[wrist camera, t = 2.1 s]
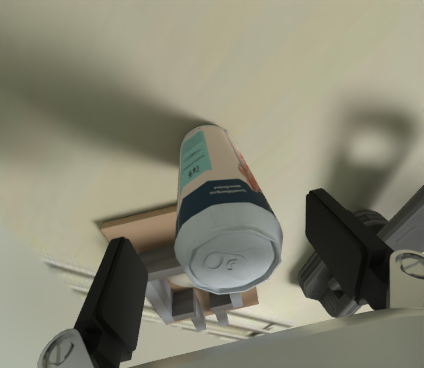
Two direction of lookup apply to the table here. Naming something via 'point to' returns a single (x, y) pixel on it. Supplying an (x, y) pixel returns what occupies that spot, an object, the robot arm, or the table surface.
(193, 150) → the beer can
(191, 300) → the keyhole board
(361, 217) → the zipper pull
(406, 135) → the table surface
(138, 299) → the robot arm
